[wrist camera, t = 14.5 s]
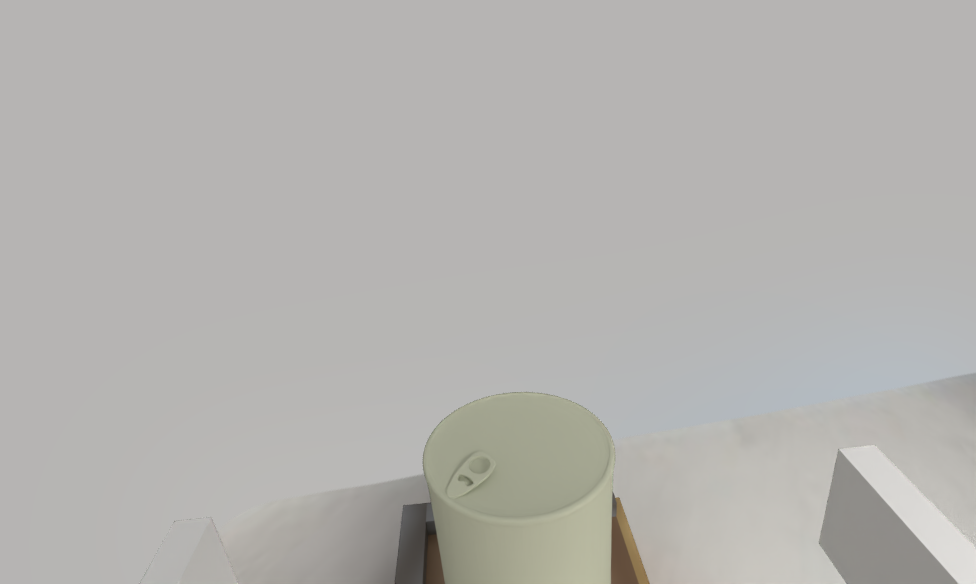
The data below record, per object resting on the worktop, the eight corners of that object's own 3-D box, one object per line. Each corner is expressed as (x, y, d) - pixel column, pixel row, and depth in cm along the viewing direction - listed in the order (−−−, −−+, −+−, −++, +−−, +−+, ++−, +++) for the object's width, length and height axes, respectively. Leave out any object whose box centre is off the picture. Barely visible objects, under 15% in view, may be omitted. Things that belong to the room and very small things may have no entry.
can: (414, 611, 33) (381, 444, 28) (526, 518, 38) (515, 364, 33) (534, 740, 26) (518, 553, 21) (647, 606, 32) (656, 432, 27)
